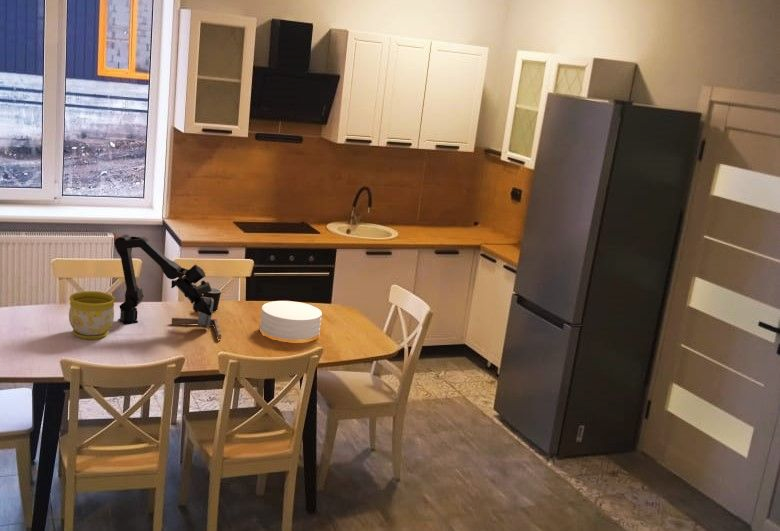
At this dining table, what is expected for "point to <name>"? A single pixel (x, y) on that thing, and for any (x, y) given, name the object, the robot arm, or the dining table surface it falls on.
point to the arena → (194, 321)
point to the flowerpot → (91, 314)
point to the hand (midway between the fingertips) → (210, 313)
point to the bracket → (204, 318)
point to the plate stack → (290, 320)
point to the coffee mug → (214, 297)
